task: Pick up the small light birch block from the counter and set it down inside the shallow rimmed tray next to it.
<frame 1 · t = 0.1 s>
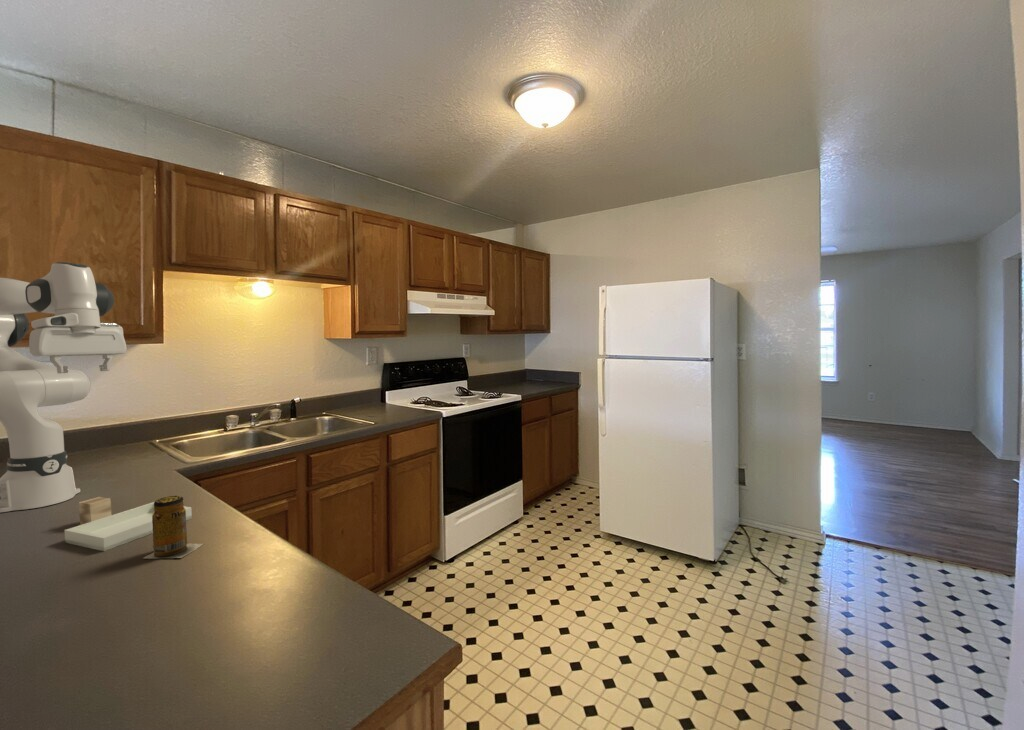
hand: (84, 372, 125), 39 cm above the worktop, tool pointing down, fingers open, 8 cm apart
birch block: (96, 523, 119), on the worktop
condiment: (174, 552, 103), on the worktop
shallow rimmed tray: (132, 529, 115), on the worktop
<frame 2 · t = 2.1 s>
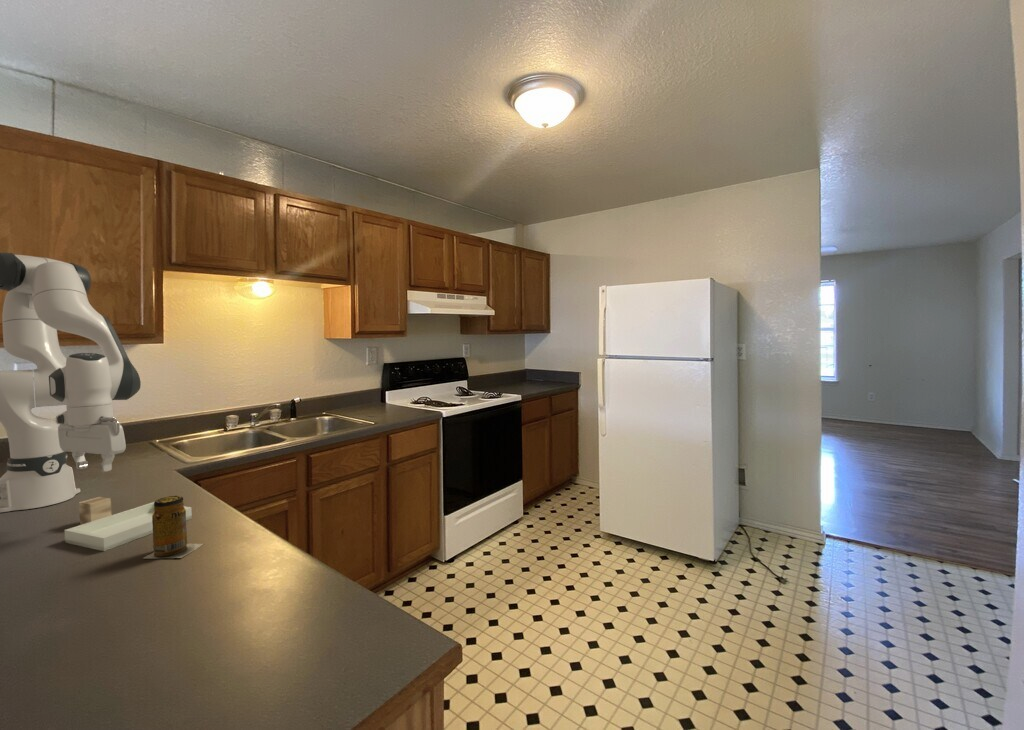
hand: (94, 469, 118), 14 cm above the worktop, tool pointing down, fingers open, 8 cm apart
nothing on the worktop moved.
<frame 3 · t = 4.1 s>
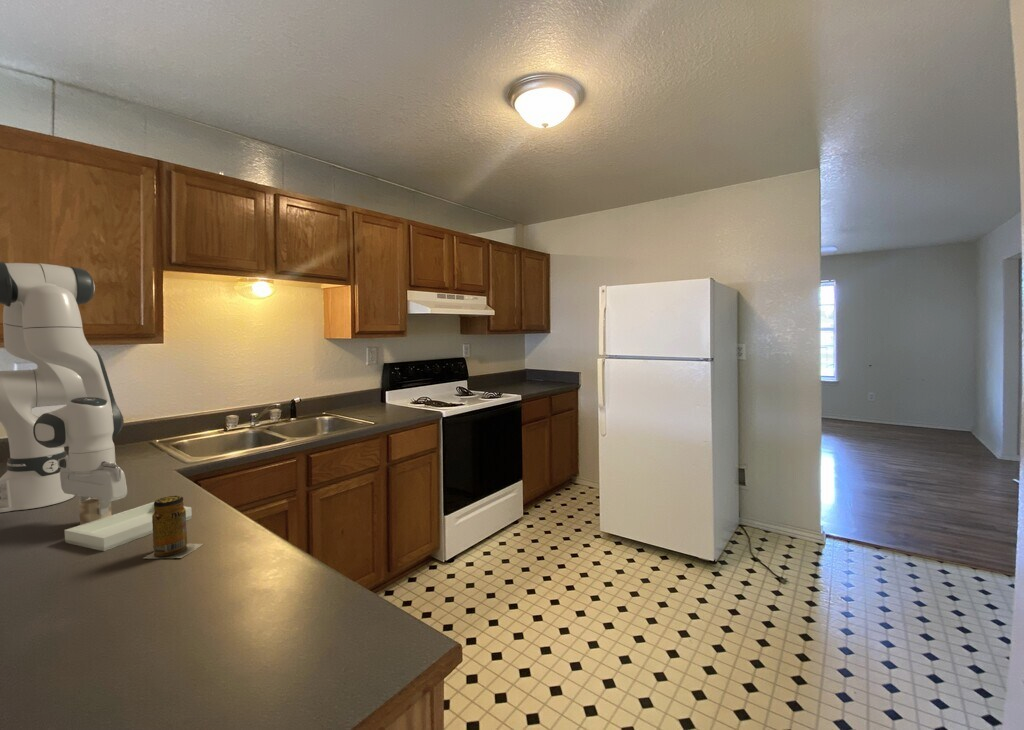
hand: (95, 513, 119), 3 cm above the worktop, tool pointing down, fingers closed on birch block, 4 cm apart
birch block: (96, 522, 119), on the worktop, touching gripper
everything else where it was.
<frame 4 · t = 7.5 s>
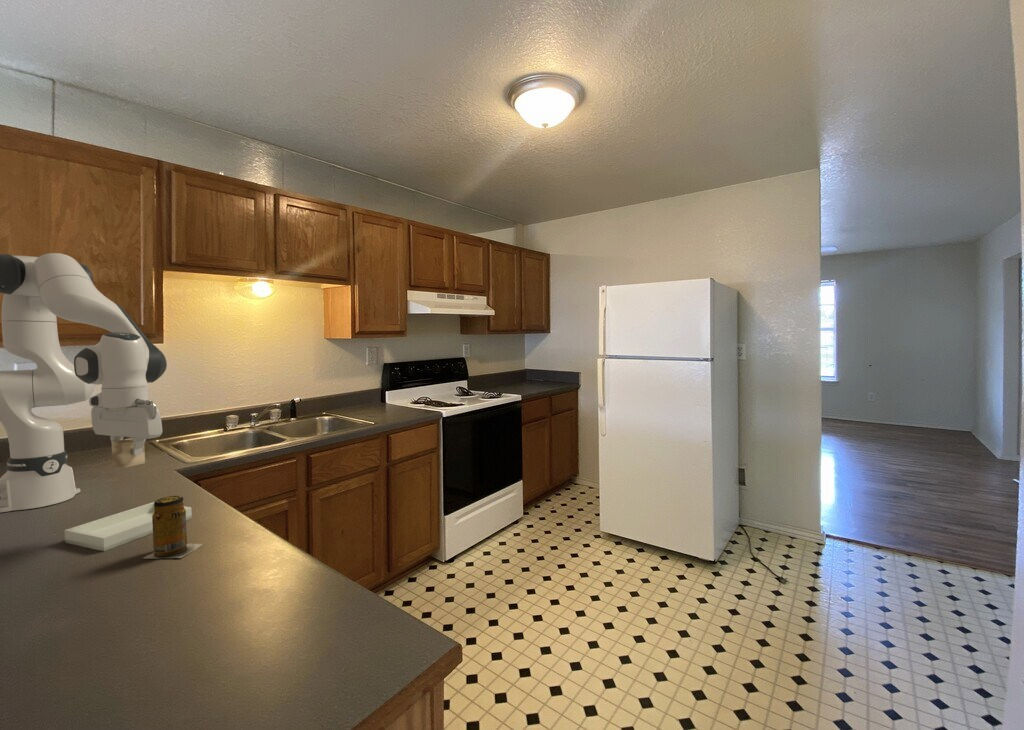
hand: (128, 454, 114), 19 cm above the worktop, tool pointing down, fingers closed on birch block, 4 cm apart
birch block: (129, 464, 114), point 17 cm above the worktop, touching gripper
everything else where it was.
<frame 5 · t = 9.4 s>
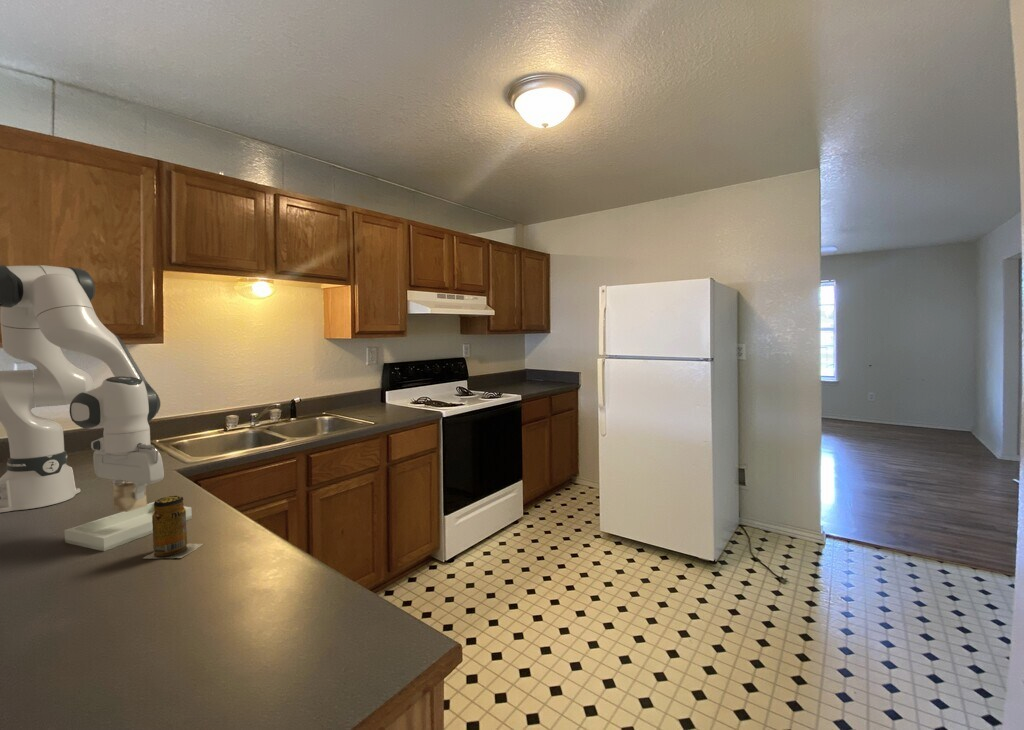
hand: (130, 497, 114), 8 cm above the worktop, tool pointing down, fingers closed on birch block, 4 cm apart
birch block: (130, 507, 114), point 6 cm above the worktop, touching gripper
everything else where it was.
when the fingers open (5 cm above the worktop, at t = 10.9 s): birch block drops 2 cm, resting on shallow rimmed tray.
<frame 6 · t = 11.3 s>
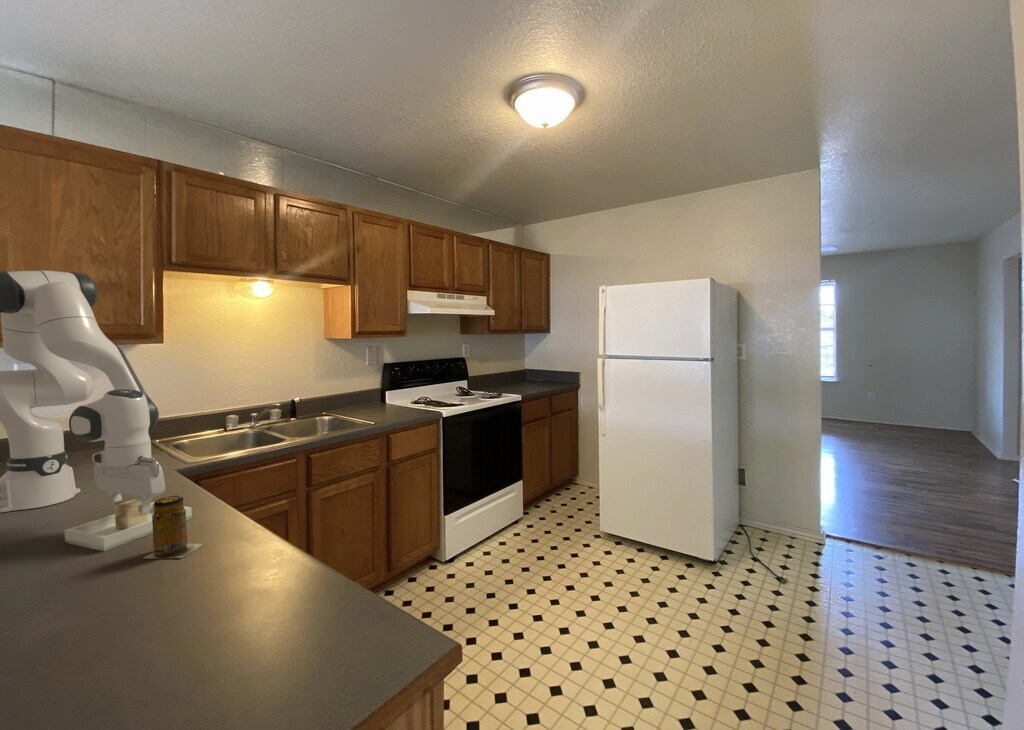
hand: (131, 509, 114), 5 cm above the worktop, tool pointing down, fingers open, 8 cm apart
birch block: (132, 526, 115), point 1 cm above the worktop, touching shallow rimmed tray
everything else where it was.
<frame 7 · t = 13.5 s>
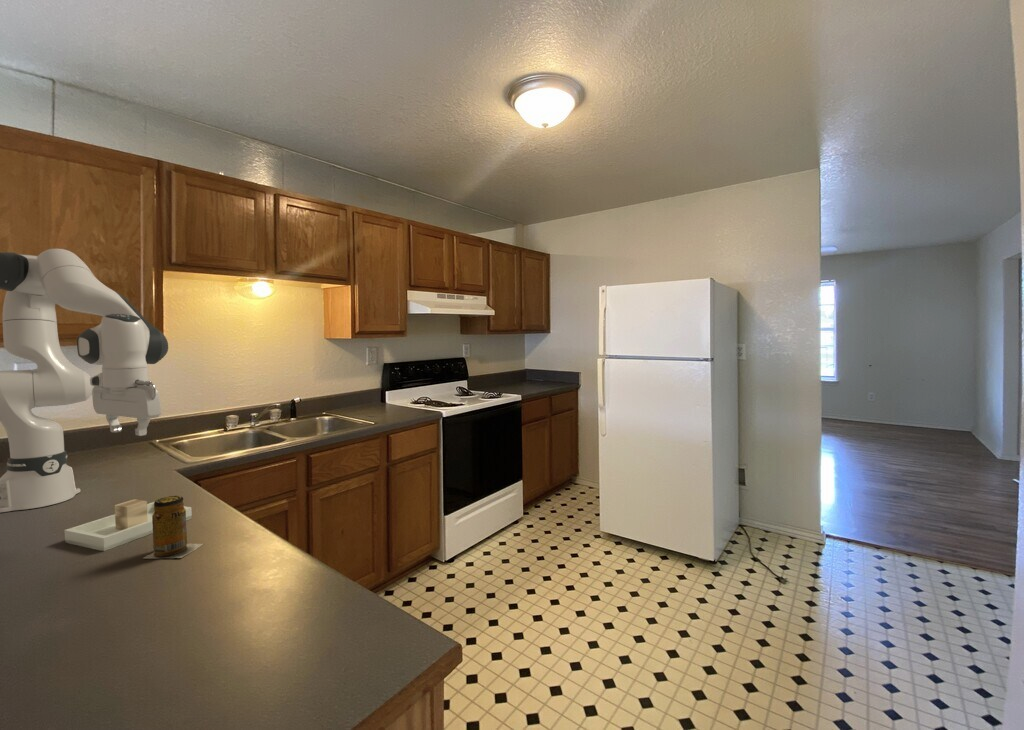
hand: (128, 433, 116), 24 cm above the worktop, tool pointing down, fingers open, 8 cm apart
nothing on the worktop moved.
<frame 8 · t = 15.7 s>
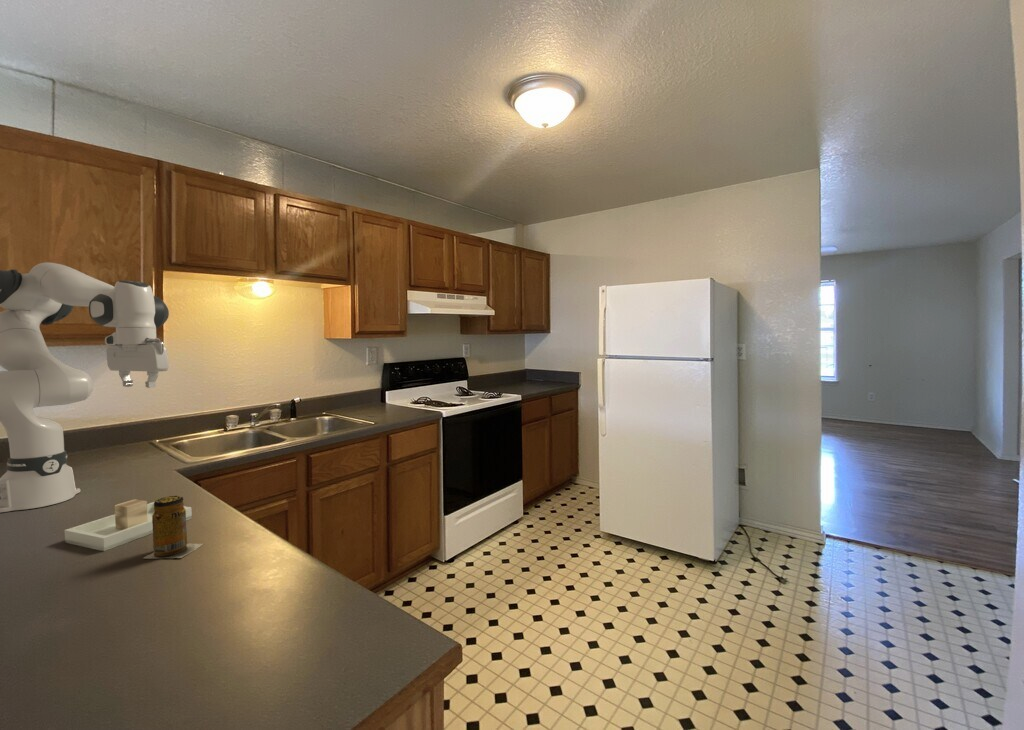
hand: (139, 387, 130), 34 cm above the worktop, tool pointing down, fingers open, 8 cm apart
nothing on the worktop moved.
at the end: birch block inside the target area on the shallow rimmed tray (0.1 cm from its centre), point 0.8 cm above the shallow rimmed tray's base; birch block tilted 0°; the gripper is holding nothing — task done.
